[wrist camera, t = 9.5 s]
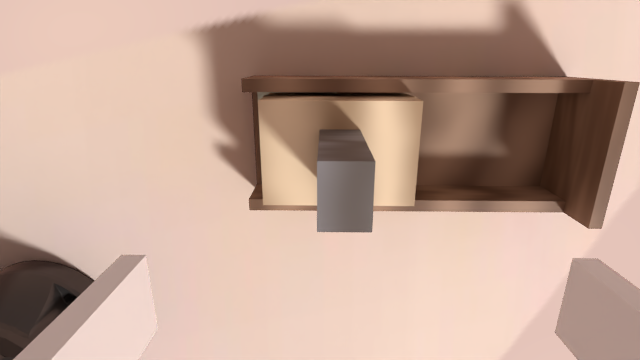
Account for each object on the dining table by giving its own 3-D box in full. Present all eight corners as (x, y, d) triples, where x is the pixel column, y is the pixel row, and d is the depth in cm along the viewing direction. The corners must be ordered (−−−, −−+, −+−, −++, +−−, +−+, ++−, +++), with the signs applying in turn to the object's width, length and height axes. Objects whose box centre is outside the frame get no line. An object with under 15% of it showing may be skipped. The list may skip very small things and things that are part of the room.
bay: (259, 191, 37) (241, 225, 29) (252, 76, 33) (231, 81, 26) (543, 193, 36) (601, 228, 29) (567, 76, 33) (639, 82, 25)
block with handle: (272, 181, 35) (236, 265, 21) (269, 92, 33) (225, 119, 18) (400, 182, 35) (451, 267, 21) (406, 92, 33) (470, 119, 18)
